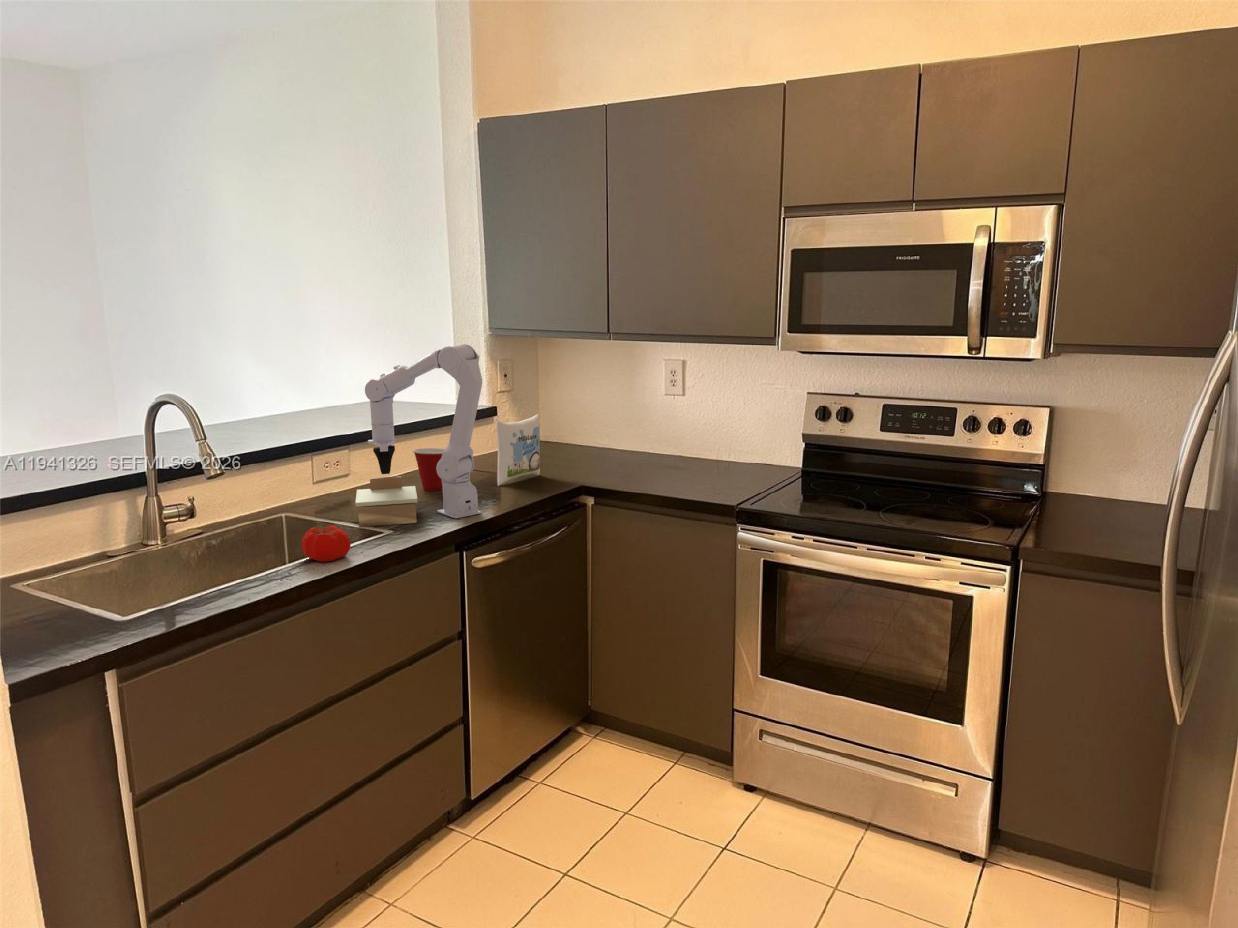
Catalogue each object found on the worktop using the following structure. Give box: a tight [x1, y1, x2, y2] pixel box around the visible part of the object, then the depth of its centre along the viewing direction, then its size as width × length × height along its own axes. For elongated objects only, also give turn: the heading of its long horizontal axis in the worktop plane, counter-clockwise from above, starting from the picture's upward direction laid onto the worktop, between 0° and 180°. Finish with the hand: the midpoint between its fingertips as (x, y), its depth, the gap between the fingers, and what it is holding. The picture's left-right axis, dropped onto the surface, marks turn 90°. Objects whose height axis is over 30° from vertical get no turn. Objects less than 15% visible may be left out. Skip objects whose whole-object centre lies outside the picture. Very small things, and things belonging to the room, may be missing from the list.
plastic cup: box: [412, 447, 445, 492], centre depth 255 cm, size 11×11×12 cm
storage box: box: [357, 503, 418, 528], centre depth 223 cm, size 14×14×5 cm
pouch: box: [496, 413, 541, 487], centre depth 264 cm, size 8×19×20 cm, turn 141°
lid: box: [355, 475, 418, 508], centre depth 222 cm, size 15×15×4 cm
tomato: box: [301, 525, 351, 563], centre depth 190 cm, size 10×11×6 cm
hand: (385, 473), depth 233 cm, fingers closed
